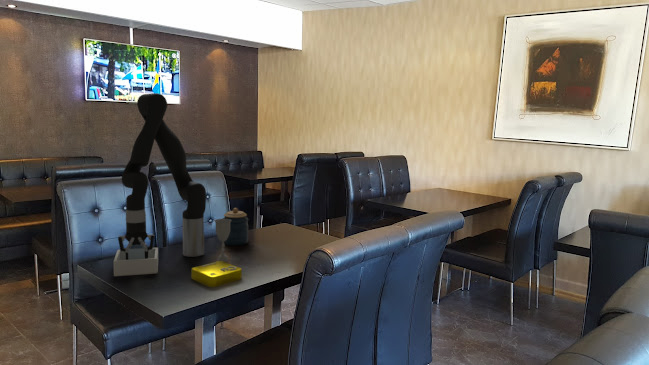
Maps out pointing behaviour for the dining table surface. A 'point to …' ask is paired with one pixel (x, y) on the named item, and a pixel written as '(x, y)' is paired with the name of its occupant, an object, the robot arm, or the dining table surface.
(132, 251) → the small crate
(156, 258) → the large crate
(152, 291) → the dining table surface
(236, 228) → the canister
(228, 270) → the element tile
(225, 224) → the chalice
